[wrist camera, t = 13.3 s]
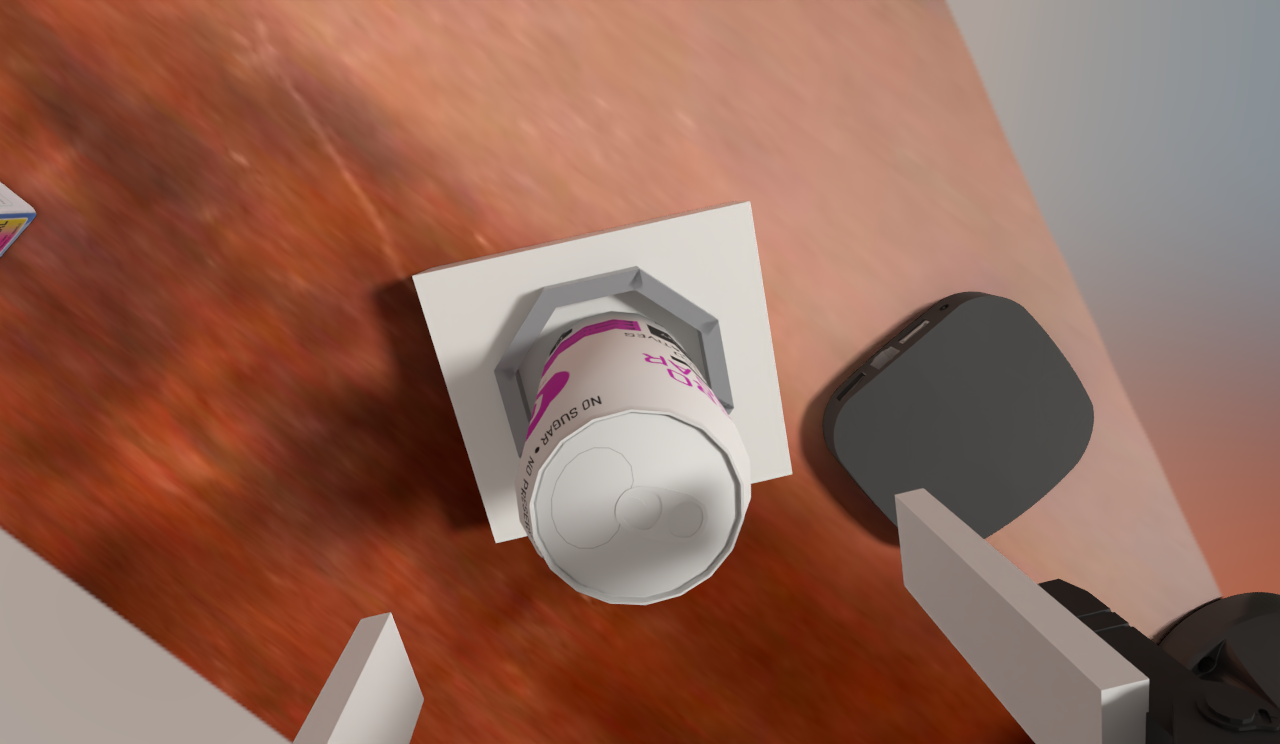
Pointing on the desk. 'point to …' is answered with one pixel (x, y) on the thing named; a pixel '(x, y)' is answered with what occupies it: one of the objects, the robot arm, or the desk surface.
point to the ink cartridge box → (12, 217)
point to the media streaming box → (963, 413)
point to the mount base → (590, 285)
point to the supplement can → (630, 464)
